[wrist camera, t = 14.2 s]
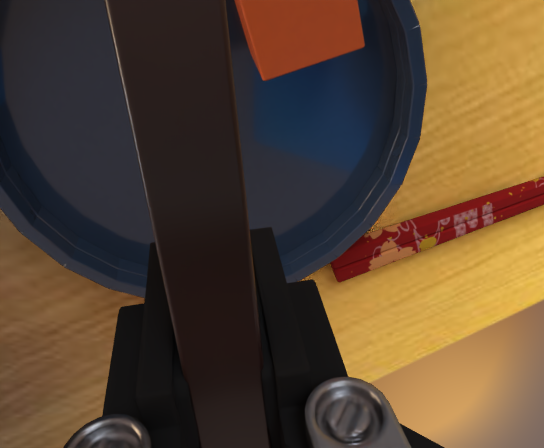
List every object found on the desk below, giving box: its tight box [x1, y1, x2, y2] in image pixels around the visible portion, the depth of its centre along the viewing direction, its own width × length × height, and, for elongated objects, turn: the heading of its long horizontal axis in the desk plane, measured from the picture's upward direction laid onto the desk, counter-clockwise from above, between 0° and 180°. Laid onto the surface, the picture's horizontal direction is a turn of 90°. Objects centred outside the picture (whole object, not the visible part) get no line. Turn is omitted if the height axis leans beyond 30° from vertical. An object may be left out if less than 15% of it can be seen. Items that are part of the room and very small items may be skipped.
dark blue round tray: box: [0, 0, 427, 298], centre depth 19 cm, size 17×17×2 cm
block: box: [234, 0, 365, 81], centre depth 16 cm, size 4×4×4 cm
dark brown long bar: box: [104, 0, 273, 448], centre depth 8 cm, size 20×1×1 cm, turn 4°
